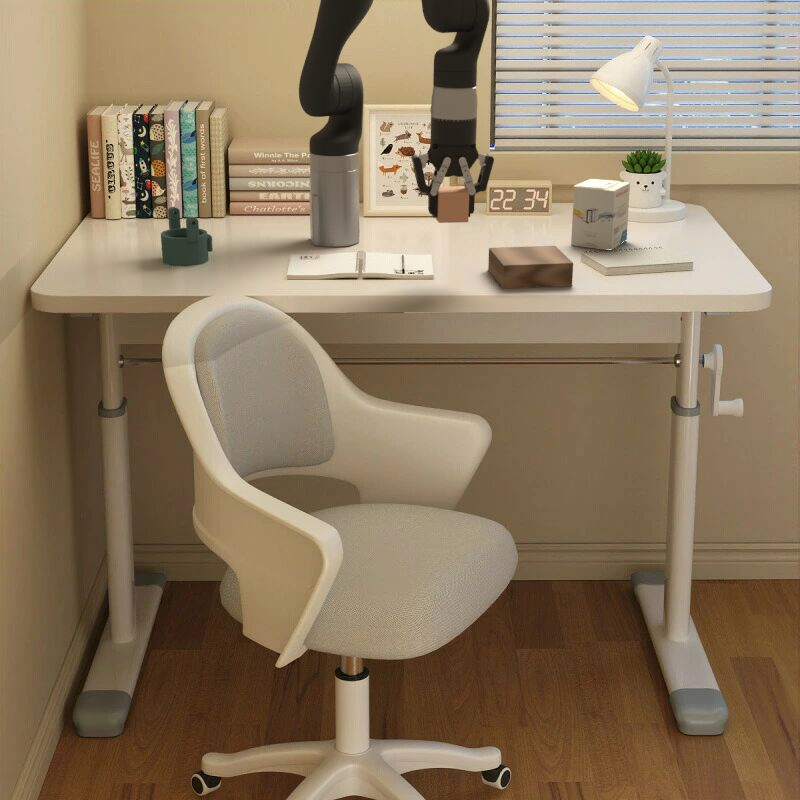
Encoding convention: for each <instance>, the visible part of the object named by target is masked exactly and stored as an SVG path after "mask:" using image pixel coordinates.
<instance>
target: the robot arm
mask: <svg viewBox="0 0 800 800" xmlns="http://www.w3.org/2000/svg"><path fill="white" fill-rule="evenodd" d="M373 2H374V0H320V2H319V7H318V12H317V16H316V21H315V24H314V25H315V26H314V29H313V33H312V37H311V40H310V42H309V43H310V44H309V47H308V50H307V52H306V55H305V59H304V63H303V66H302V69H301V73H300V77H299V85H298V98H299V104H300V106H301V108H302V110H303V111H304V113H305V114H306V115H308V116H310V117H314V118H321V117H328V120H327V122H326V124H325V125H324V126H323V127H321V129H320V130H319V131H317V132H315V133H314V134H313V135H311V137H310V138H309V142H308V143H309V175H310V176H309V178H310V179H309V180H310V183H309V184H310V188H309V189H310V190H309V220H310V221H309V223H310V225H309V226H310V240H311V241H310V242H311V243H312V245H313V246H321V247H335V248H336V247H338V248H339V247H348V246H353V245H355V244H358V243H359V242H360V232H361V231H360V168H359V167H360V166H359V165H360V158H359V157H360V156H359V155H360V153H359V145H360V142H361V138H362V134H363V120H364V119H363V118H364V99H365V98H364V85H363V80H362V76H361V74H360V72H359V70H358V68H356V66H354V65H353V64H351V63H348V62H339V59H340V56H341V53H342V51H343V48H344V47H345V45H346V43H347V41H348V40H349V39H350V37H351V36H352V34H353V33H354V32H355V31H356V29H357V28H358V27H359V25H360V24H361V23H362V21H363V20H364V18H365V17H367V16H366V15H367V14H368V12H369V11H370V9H371V8H372V6H373ZM421 7H422V8H421V9H422V13H423V17H424V19H425V22H426V23H427V25H428V26H429V27H430V28H431V29H432V30H433V31H435V32H437V33H440V34H441V33H442V34H450V33H451V34H453V33H455V37H454V39H453V41H452V43H451V44H450V45H447V46H444V47H441V48H440V49H438V50H437V51H436V52H435V54H434V56H433V81H432V82H433V86H432V94H431V101H430V102H431V103H430V104H431V105H430V141H429V142H430V145H429V149H428V150H427V153H423V154H419V155H417V154H412V156H411V163H412V167H413V171H414V176H415V181H416V185H417V188H418V190H419V191H420V192H421V193H424V194H427V195H428V196H427V197H428V201H427V205H428V207H427V211H428V213H429V214H430V215H431V216H432V217H433V219H434V218H435V219H436V218H437V216H438V196H437V193H438V190H439V188H440V187H441V185H442V184H443V181H444V179H445V178H450V177H453V176H454V177H457V178H459V177H460V178H461V179H462V182H463V184H464V185H463V186H464V187H465V188H466V189H467V191H468V192H469V216H468V218H471V215H472V214H474V212H475V201H476V199H475V198H476V197H475V196H476V195H477V193H480V192H485V191H486V190H487V188H488V184H489V181H490V176H491V173H492V169H493V167H494V162H495V159H494V156H492V155H491V154H490V153H482V152H479V151H478V149H477V123H478V122H477V121H478V119H477V118H478V94H477V93H478V92H477V82H478V81H477V80H478V77H477V75H478V60H479V56H480V52H481V49H482V46H483V42H484V38H485V36H486V32H487V29H488V25H489V21H490V14H491V13H490V12H491V8H490V1H489V0H421ZM477 160H478V165H479V166H480V171H479V175H478V178H477V182H476V183H474V181H473V177H472V173H471V171H470V169H471V168H472V167H473V166H474V164H475V163H476V162H477ZM428 161H429V162H430V163H431V165H432V166H433V167H434V171H433V173H432V175H431V181H430V182H429V184H427V183H426V177H425V173H424V168H426V167H427V162H428Z"/></svg>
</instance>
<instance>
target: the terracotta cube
mask: <svg viewBox="0 0 800 800" xmlns="http://www.w3.org/2000/svg"><path fill="white" fill-rule="evenodd" d="M437 196H438V216H437V218H435V220H436V221H437V222H438V224H444V223H445V224H446V223H447V224H448V223H450V224H451V223H469V217H468V216H469V192H468V191H467V189H466V188H465V185H459V186H458V185H456V186H454V185H452V186H450V185H449V186H440V188H439V190H438V193H437Z"/></svg>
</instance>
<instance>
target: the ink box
mask: <svg viewBox="0 0 800 800" xmlns="http://www.w3.org/2000/svg"><path fill="white" fill-rule="evenodd" d="M630 185H631V182H624V181H620V180H610V179H598V178H597V179H596V178H590V179H587V180H585V181H582V182H580V183H577V184H575V185H573V198H572V199H573V200H572V201H573V204H572V221H571V223H572V224H571V239H570V245H571V246H574V247H582V248H589V249H597V250H602V249H613V250H615V249H616V248H618V247H619V246H620V245H619V244H621V243H622V242H623V241H625V240H627V239H628V225H629V224H628V223H629V206H630V189H631V186H630ZM618 245H619V246H618ZM621 245H622V244H621ZM617 246H618V247H617ZM614 248H615V249H614Z"/></svg>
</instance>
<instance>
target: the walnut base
mask: <svg viewBox="0 0 800 800" xmlns="http://www.w3.org/2000/svg"><path fill="white" fill-rule="evenodd" d="M487 269H488V271H489V272H490V274H491V275H492V277H493V278H494V279H495V280H496V281H497V283H498V284H499V285H500V286H501V288H502V289H519V288H520V289H523V288H527V289H528V288H548V287H549V288H551V287H571V286H573V277H574V276H573V273H574V262H573V261H572V260H571V259H570V258H569V257H567V255H565V253H563V252H562V250H561V249H559V248H558V247H557V246H556V245H537V246H535V245H534V246H533V245H532V246H529V245H528V246H509V247H508V246H505V247H504V246H503V247H502V246H501V247H488V267H487Z"/></svg>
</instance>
